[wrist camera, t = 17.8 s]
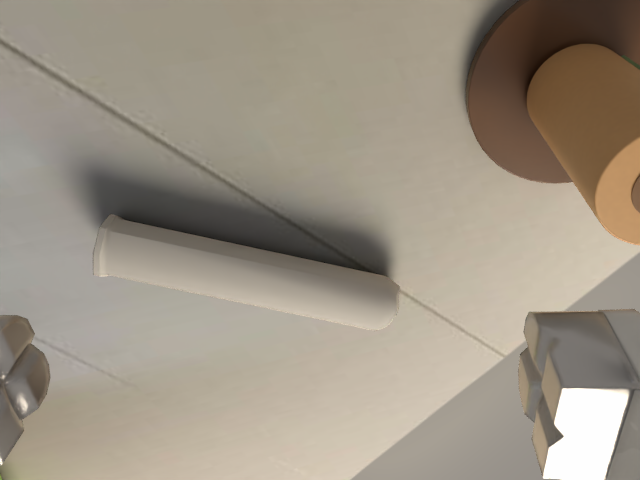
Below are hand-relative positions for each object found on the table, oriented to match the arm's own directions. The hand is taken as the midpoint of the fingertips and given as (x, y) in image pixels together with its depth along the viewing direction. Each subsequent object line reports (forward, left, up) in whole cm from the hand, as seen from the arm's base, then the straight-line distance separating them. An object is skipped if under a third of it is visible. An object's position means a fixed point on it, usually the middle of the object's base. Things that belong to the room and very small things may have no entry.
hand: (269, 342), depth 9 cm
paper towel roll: (+4, +16, -32) cm, 36 cm away
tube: (+22, -5, -33) cm, 40 cm away
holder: (+4, +16, -33) cm, 37 cm away
